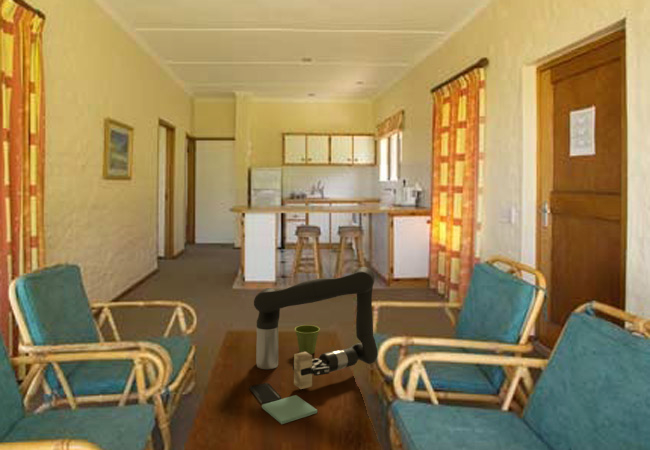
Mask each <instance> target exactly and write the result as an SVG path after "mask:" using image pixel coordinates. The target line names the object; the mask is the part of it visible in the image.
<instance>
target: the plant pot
mask: <svg viewBox="0 0 650 450" xmlns="http://www.w3.org/2000/svg"><path fill="white" fill-rule="evenodd" d="M294 331H295V336H296V338H297V345H298V346H297V347H298V353H301V352H307V353H309V354H311V355H313V354H314V353H315V352H316V347H317V341H318V336H319V332H320V331H321V328H320V327H319V326H317V325H313V324H303V325H302V324H301V325H299V326H298V325H297V326H295V328H294Z"/></svg>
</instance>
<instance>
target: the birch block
mask: <svg viewBox="0 0 650 450" xmlns="http://www.w3.org/2000/svg"><path fill="white" fill-rule="evenodd" d="M293 356H294V358H293V365H294V370H293V385H294V386H295V387H297V388H298V389H300V390H302V389H303V390H304V389H307V388H310V387H313V374H307V375H303V376H302V375H301V370H302V369H305V368H310V367H312V359H313V354H309V353H307V352H301V353H300V352H298V353H294V355H293Z"/></svg>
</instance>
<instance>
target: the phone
mask: <svg viewBox="0 0 650 450" xmlns="http://www.w3.org/2000/svg"><path fill="white" fill-rule="evenodd" d="M249 391H250V392H251V393H252V394H253V395H254V397H255V398H256V399H257V401H258V402H259V403H260V404H261V405H263V404H267V403H270V402H273V401H277V400H280V399H282V396H281V395H280V394H279V393H278V392H277V391H276V390H275V389H274V388H273V387H272V386H271V385H270V383H268V382H265V383H259V384H254V385H250V386H249Z"/></svg>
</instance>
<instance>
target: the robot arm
mask: <svg viewBox="0 0 650 450" xmlns="http://www.w3.org/2000/svg"><path fill="white" fill-rule="evenodd" d="M375 279H376V278H375V275H374V272H373V271H372V270H371V269H370V268H368V267H367V266H360V267H358V268H357V269H355V271H354V272H353V273H350V274H349V275H345V276H341V277H336V278H335V277H333V278H331V277H325V278H324V277H322V278H320V277H319V278H314V279H311V280H310V279H309V280H306V281H302V282H299V283H296V284H293V285H291V286H289V287H286V288H285V289H284V288H283V289H279V290H276V289H275V288H272V287H268V288H264V289H262V290H261V291H260V292H258V293H257V295H256V296H255V298H254V300H253V307H254V308H255V310H257V312H258V316H257V319H256V342H255V343H256V345H255V348H256V350H255V352H256V353H255V355H256V357H255V359H256V360H255V361H256V362H255V363H256V367H257V368H259V369H262V370H273V369H276V368H277V367H278V366H279V321H280V315H281V312H280V311H281V309H283V308H287V307H292V306H299V305H301V306H302V305H305V304H312V303H317V302H321V301H325V300H329V299H333V298H336V297H340V296H344V295H345V296H346V295H355V294H356V313H355V314H356V315H355V330H356V331H355V333H356V338H357V340H359V342H358V343H357V342H356V343H355V344H353V345H351V346H350V347H348V348H343V349H340V350H332V351H328V352H323V353H321V354H320V355H319V357H318V358H312V367H310V368H305V369H302V370H301V375H302V376H303V375H307V374H312V375H313V376H323V375H329V374H330V373H333V372H335V371H340V370H342V369H345V368H348V367H352V366H355V365H356V364H357V363H358V361H361V362H364V363H365V364H369V365H372V364H374V363H375V362H376V360H377V358H378V348H377V347H378V346H377V344H376V339H375V336H374V320H373V305H372V304H373V299H372V298H373V288H374V285H375ZM292 370H293V371H294V364H293V365H292Z"/></svg>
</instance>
